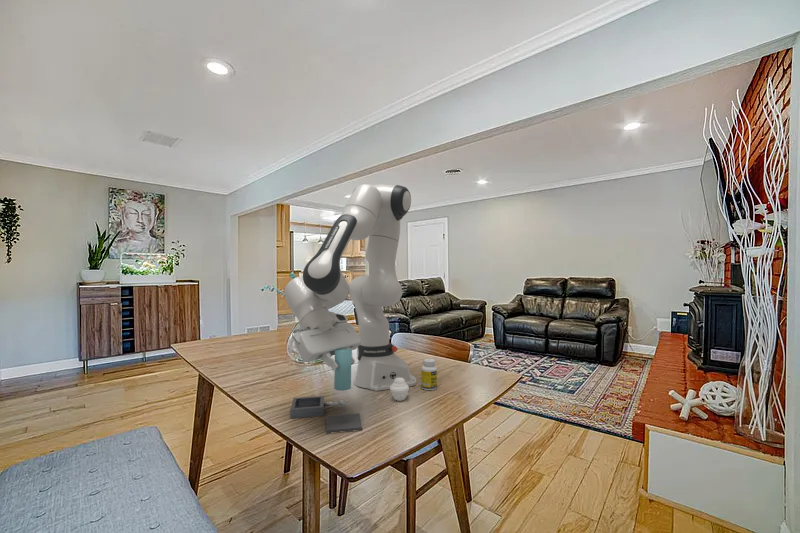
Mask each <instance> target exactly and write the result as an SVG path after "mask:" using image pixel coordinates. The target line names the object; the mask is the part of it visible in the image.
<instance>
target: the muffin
mask: <svg viewBox="0 0 800 533" xmlns="http://www.w3.org/2000/svg"><path fill="white" fill-rule="evenodd" d="M409 390H410V386H408V385H407V384H406V382H405V380H404V379H403V378H400V377H399V378H396V379H395V380H394V383H393V384H392V385H391V386H390V389H389V391H390V394H391V395H392V398H393V400H394V401H396V400H397V401H396V402H403V401H405V399H406V398H407V396H408V393H409ZM402 400H403V401H402Z"/></svg>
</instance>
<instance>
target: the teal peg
mask: <svg viewBox="0 0 800 533" xmlns="http://www.w3.org/2000/svg"><path fill="white" fill-rule="evenodd" d="M351 351H352V352H353V350H351V349H345V348H343V349H338V350H335V355H334V360H335V361H338V362H339V364H340V367H339V368H338V369H337V370H334V377H333V378H334V380H333V383H334V385H333V386H334V388H333V389H334V390H335V391H339V392H340V391H341V392H342V391H343V392H344V391H348V390H351V388H352V365H351Z"/></svg>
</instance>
